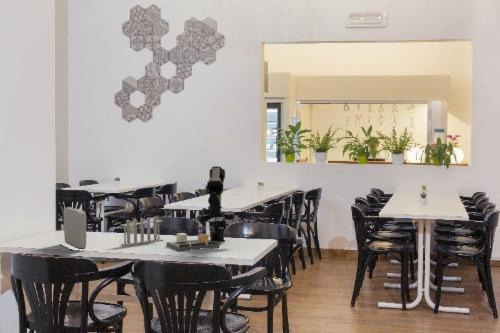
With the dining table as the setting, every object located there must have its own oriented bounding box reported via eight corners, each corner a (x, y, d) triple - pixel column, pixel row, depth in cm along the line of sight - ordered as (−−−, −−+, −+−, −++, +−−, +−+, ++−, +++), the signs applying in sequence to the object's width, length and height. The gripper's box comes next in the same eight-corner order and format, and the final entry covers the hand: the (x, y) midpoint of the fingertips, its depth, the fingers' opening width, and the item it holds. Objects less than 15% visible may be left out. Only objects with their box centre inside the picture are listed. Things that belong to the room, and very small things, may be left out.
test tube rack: (125, 246, 377) (125, 221, 376) (120, 245, 380) (120, 220, 379) (163, 240, 395) (162, 216, 394) (158, 240, 398) (157, 216, 397)
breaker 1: (183, 240, 379) (183, 233, 378) (187, 241, 375) (186, 234, 374) (176, 241, 377) (176, 233, 377) (179, 242, 373) (179, 234, 373)
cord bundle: (216, 243, 372) (216, 240, 372) (218, 243, 370) (218, 240, 370) (178, 246, 362) (178, 243, 362) (179, 247, 360) (179, 244, 360)
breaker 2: (205, 241, 374) (204, 234, 374) (208, 242, 370) (208, 235, 370) (197, 242, 372) (197, 234, 372) (201, 243, 368) (201, 235, 368)
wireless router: (94, 250, 366) (93, 211, 365) (75, 252, 361) (74, 212, 360) (75, 242, 393) (74, 205, 392) (57, 244, 388) (56, 206, 386)
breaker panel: (205, 242, 386) (205, 238, 386) (219, 247, 370) (219, 243, 370) (166, 246, 376) (166, 242, 376) (179, 251, 360) (179, 246, 360)
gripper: (224, 201, 385) (225, 230, 386) (192, 203, 376) (192, 233, 377) (234, 203, 375) (234, 233, 376) (200, 205, 366) (201, 236, 367)
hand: (215, 234), depth 374 cm, fingers closed
